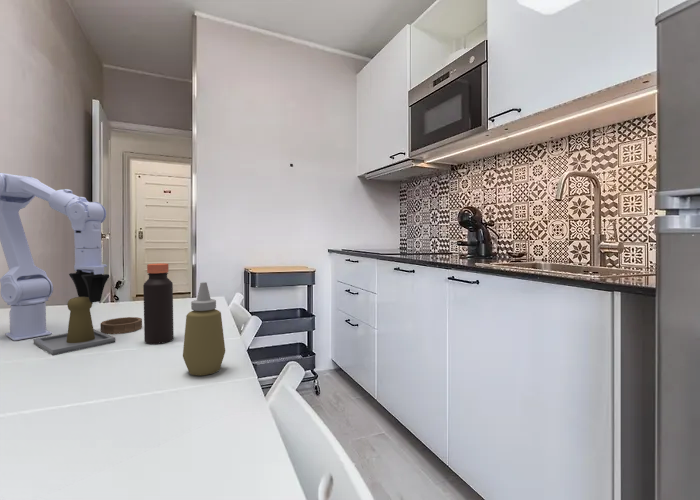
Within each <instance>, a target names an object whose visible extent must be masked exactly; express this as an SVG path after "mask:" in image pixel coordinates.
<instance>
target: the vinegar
mask: <svg viewBox="0 0 700 500" xmlns="http://www.w3.org/2000/svg"><path fill="white" fill-rule="evenodd" d="M146 269H147V270H146V271H147V276H148V279H147V280H146V281H145V282H144V283H143V285H142V286H143V287H142V288H143V330H144V331H143V334H144V335H143V336H144V337H143V338H144V343H146V344H147V345H159V344H165V343H169V342H171V341H173V340H174V337H175V336H174V334H175V333H174V298H173V297H174V294H173V293H174V289H173V288H174V287H173V282H172V280H170V278H168V275H169V263H164V262H163V263H148V264H146Z"/></svg>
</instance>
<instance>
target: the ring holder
mask: <svg viewBox="0 0 700 500" xmlns="http://www.w3.org/2000/svg"><path fill="white" fill-rule="evenodd" d="M99 325H100V332H102V333H105V334H107V335H121V334H127V333H133V332H134V333H135V332H138V331H139V330H141V329H142V328H143V318H142V317H135V316H134V317H133V316H128V317H127V316H126V317H118V318H110V319H107V320H103V321H102V322H100V323H99Z"/></svg>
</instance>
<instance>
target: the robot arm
mask: <svg viewBox="0 0 700 500" xmlns="http://www.w3.org/2000/svg"><path fill="white" fill-rule="evenodd" d="M35 197H36V198H38V199H41V200H44V201H45V202H48V205H49V207H50V208H51V209H52V210H54V211H57V212H59V213H61V214H62V215H64V216H66V217H67V218H68V220H69V221H70V224H71V229H72V231H73V235H74V236H73V238H74V239H73V240H74V243H73V244H74V266H73V267H74V268H73V269H74V271H75V272H71V273H68V275H69V277H70V278H71V280H72V281H73V284H74V286H75V289H76V293H77V297H89V300H90V302H91V303H92V304H93V303H99V302H101V300H102V296H103V293H104V288H105V286H106V283H107V281H108V279H109V278H110V274H109V273H106V274H105V268H107V267H108V264H105V263H103V262H102V261H103V257H102V256H103V255H102V254H103V253H102V224H103V223H104V222H105V220H106V218H107V210H106V207H105V206H104V205H103V204H101V203H100V202H99V201H93V202H92V201H89V200H87V198H86V197H85V196H78V195H76V194H74V193H73V190H72V189H68V188H64V189H58V190H56V189H54V188H52V187H51V186H49V185H47V184H45V183H43V182H41V181H40V179H38V178H34V177H32V176H30V175H28V176H27V175H26V176H25V175H19V174H18V175H17V174H11V173H5V172H0V244H1V248H2V252H3V254H4V257H5V261H6V263H7V266H8V267H7V268H8V271H6V273H5V274H4V275H2V276H1V277H0V296H1V299H2V300H3V301H4V302H5V303H6V305H7V306H10V310H9V332H5V336H7V337H8V338H10V339H11V340H12V341H19V340H25V339H31V338H39V337H45V336H51V335H53V334H52V331H50V330H48V329H47V312H46V311H47V307H46V302H47V301H49V298H50V297H51V296H52V294H53V293H54V285H53V282H52V281H51V279H50V278H49V277H48V275H47V272H46V271H45V270H44V269H42V268H40V267H38V266H37V265H35V262H34V259H33V256H32V253H31V249H30V245H29V242H28V239H27V236H26V232H25V230H24V226H23V224H22V220H21V217H20V211H21V210H22V209H24V208H26V207H27V206H28V205H29V204H30V202H32V200H34V198H35Z"/></svg>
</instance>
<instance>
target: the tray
mask: <svg viewBox="0 0 700 500" xmlns="http://www.w3.org/2000/svg"><path fill="white" fill-rule="evenodd" d="M93 330H94V335H95V339H93V340H91V341H87V342H81V343H67V342H66V341H67V333H68V332H65V333H61V334H60V333H59V334H54V335H53V334H52V335H47V336H41V337H35V338H33V345H35V346H36V347H38V348H40V349H41V350H43V351H44V352H46V353H48V354H49V355H51V356H55V355H60V354H65V353H70V352H75V351H79V350H84V349H90V348H95V347H99V346H104V345H108V344H109V345H110V344H114V343H116V337H114V336H112V335H111V334H105V333H102V332H101V330H100V331H99V330H97V329H95V328H93Z"/></svg>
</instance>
